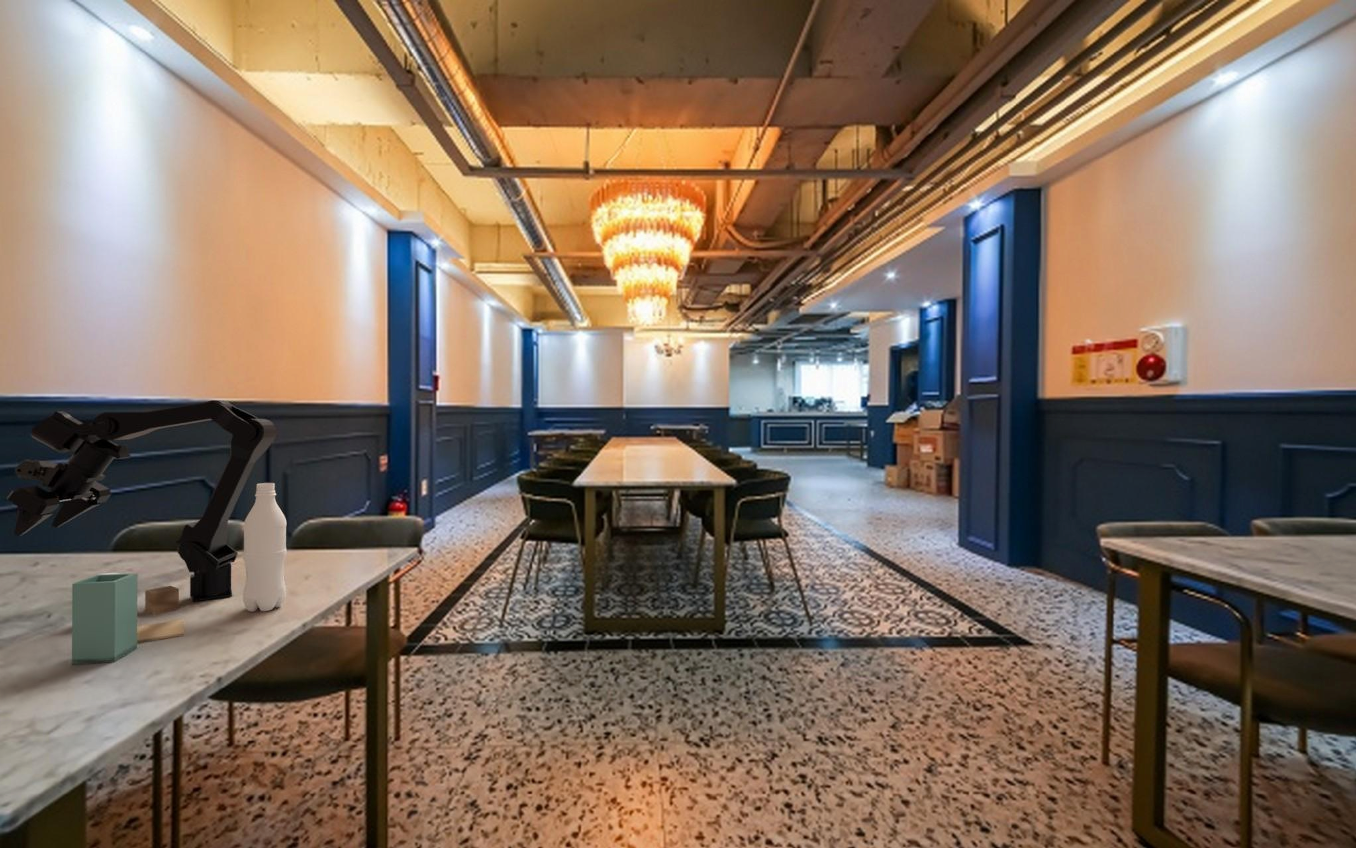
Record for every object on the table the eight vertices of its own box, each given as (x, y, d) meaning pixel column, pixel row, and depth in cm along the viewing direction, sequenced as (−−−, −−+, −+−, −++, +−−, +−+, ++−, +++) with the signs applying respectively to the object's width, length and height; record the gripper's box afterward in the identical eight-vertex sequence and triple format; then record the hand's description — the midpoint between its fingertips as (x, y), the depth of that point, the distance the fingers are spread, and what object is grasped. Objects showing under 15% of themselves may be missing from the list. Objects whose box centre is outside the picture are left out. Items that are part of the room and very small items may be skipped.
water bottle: (264, 615, 116) (265, 486, 116) (233, 612, 118) (234, 485, 117) (294, 604, 123) (295, 482, 123) (265, 601, 125) (266, 481, 124)
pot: (97, 651, 98) (97, 574, 98) (137, 648, 99) (137, 573, 99) (71, 664, 92) (72, 583, 92) (114, 661, 94) (115, 582, 93)
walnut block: (170, 605, 122) (170, 585, 122) (178, 608, 120) (178, 588, 119) (145, 610, 118) (145, 590, 118) (153, 614, 116) (153, 593, 116)
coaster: (184, 621, 112) (184, 619, 112) (183, 635, 105) (183, 633, 105) (118, 631, 106) (118, 629, 106) (113, 647, 99) (113, 644, 99)
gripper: (81, 442, 130) (33, 503, 128) (6, 446, 112) (-51, 517, 110) (131, 469, 132) (85, 530, 130) (66, 478, 114) (11, 548, 112)
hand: (36, 530), depth 121 cm, fingers open, 9 cm apart
